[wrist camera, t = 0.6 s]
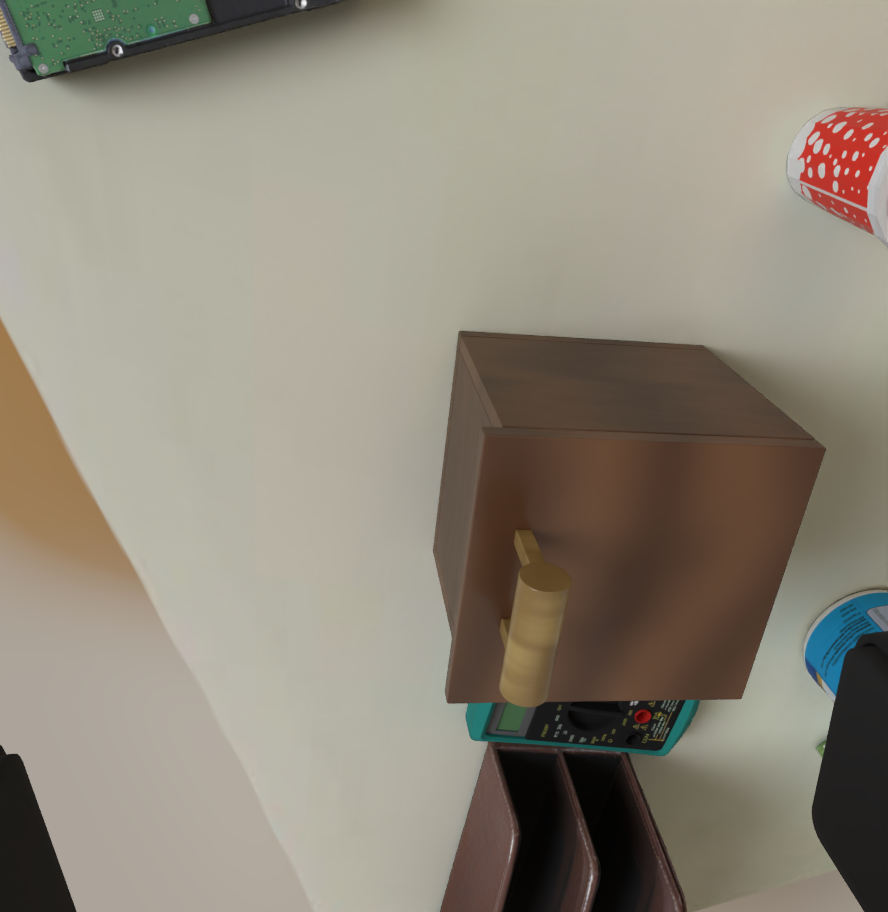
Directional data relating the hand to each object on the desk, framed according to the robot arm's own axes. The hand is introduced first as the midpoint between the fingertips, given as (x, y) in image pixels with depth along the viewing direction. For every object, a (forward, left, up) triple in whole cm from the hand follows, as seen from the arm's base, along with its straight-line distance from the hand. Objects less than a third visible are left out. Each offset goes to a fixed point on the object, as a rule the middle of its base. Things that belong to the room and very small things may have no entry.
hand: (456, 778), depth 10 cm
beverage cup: (-4, +24, -35) cm, 42 cm away
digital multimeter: (+30, +17, -35) cm, 49 cm away
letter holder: (+44, +15, -35) cm, 58 cm away
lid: (+13, +12, -23) cm, 29 cm away
